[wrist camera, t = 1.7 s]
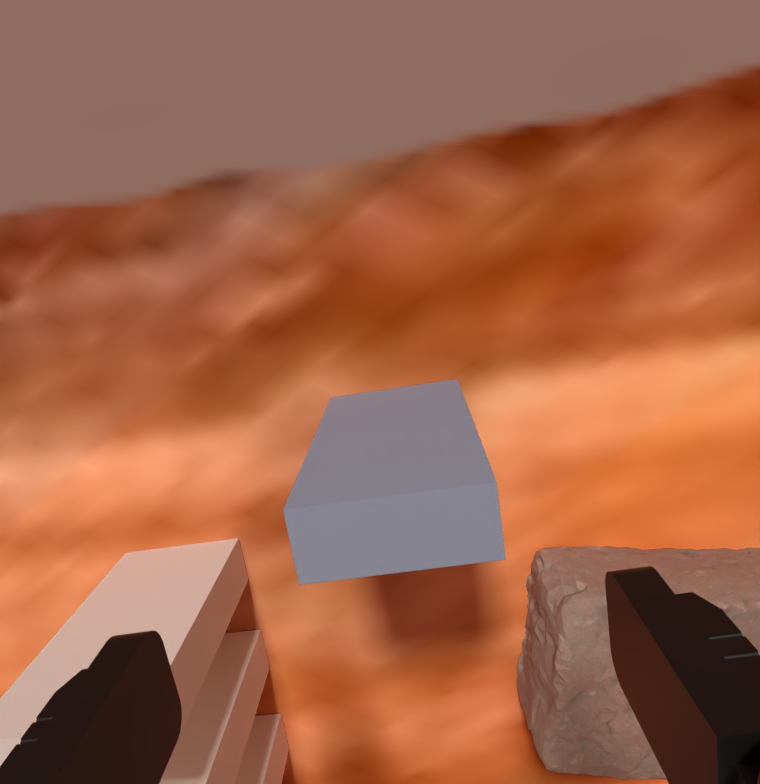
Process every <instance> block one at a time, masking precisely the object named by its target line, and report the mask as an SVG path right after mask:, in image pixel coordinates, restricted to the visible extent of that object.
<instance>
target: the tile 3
mask: <svg viewBox="0 0 760 784" xmlns="http://www.w3.org/2000/svg"><path fill="white" fill-rule="evenodd" d="M269 668H270V667H269V663H268V659H267V654H266V650H265V646H264V642H263V638H262V634H261V629H260V630H252V631H243V632H235V633H226V634H224V636H223V639H222V641H221V643H220V645H219V648H218V650H217V652H216V655H215V657H214V659H213V661H212V664H211V666H210V668H209V670H208V673H207V675H206V677H205V679H204V682H203V684H202V686H201V688H200V691H199V693H198V695H197V698H196V700H195V702H194V704H193V707H192V709H191V711H190V713H189V716H188V718H187V720H186V722H185V725H184V727H183V729H182V731H181V734H180V736H179V738H178V741H177V743H176V745H175V748H174V750H173V752H172V755H171V757H170V759H169V762H168V764H167V766H166V769H165V771H164V773H163V776H162V778H161V780H160V783H159V784H235V780H236V777H237V774H238V771H239V767H240V764H241V761H242V757H243V754H244V751H245V747H246V744H247V741H248V738H249V734H250V731H251V728H252V724H253V721H254V718H255V714H256V711H257V708H258V705H259V701H260V698H261V695H262V691H263V688H264V685H265V681H266V678H267V675H268V671H269Z"/></svg>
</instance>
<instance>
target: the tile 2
mask: <svg viewBox="0 0 760 784" xmlns="http://www.w3.org/2000/svg"><path fill="white" fill-rule="evenodd" d="M247 582H248V576H247V571H246V567H245V563H244V559H243V555H242V551H241V547H240V542H239V538H237V539H229V540H222V541H214V542H206V543H198V544H191V545H183V546H175V547H168V548H160V549H152V550H144V551H137V552H129V553H125V554H124V556H123V557H122V558H121V559H120V560H119V561H118V562H117V564H116V565H115V566H114V567H113V568H112V569H111V571H110V572H109V573H108V574H107V575H106V576H105V578H104V579H103V580H102V581H101V582H100V583H99V585H98V586H97V587H96V588H95V589H94V590H93V592H92V593H91V594H90V595H89V596H88V597H87V598H86V600H85V601H84V602H83V603H82V604H81V605H80V607H79V608H78V609H77V610H76V611H75V612H74V614H73V615H72V616H71V617H70V618H69V619H68V621H67V622H66V623H65V624H64V625H63V626H62V628H61V629H60V630H59V631H58V632H57V633H56V634H55V636H54V637H53V638H52V639H51V640H50V641H49V643H48V644H47V645H46V646H45V647H44V648H43V650H42V651H41V652H40V653H39V654H38V655H37V657H36V658H35V659H34V660H33V661H32V662H31V664H30V665H29V666H28V667H27V668H26V669H25V670H24V672H23V673H22V674H21V675H20V676H19V677H18V679H17V680H16V681H15V682H14V683H13V684H12V686H11V687H10V688H9V689H8V690H7V691H6V693H5V694H4V695H3V696H2V697H1V698H0V766H1V765H2V763H3V762H4V761H5V759H6V758H7V756H8V755H9V754H10V752H11V751H12V750H13V748H14V747H15V746H16V744H20V742H21V738H22V736H23V735H24V734H25V732H26V731H27V729H28V728H29V727H30V725H31V724H32V723H34V722H36V720H37V718H36V717H37V716H38V715H39V713H40V712H41V711H42V709H43V708H44V706H45V705H46V704H47V702H48V701H49V700H50V698H51V697H52V696H53V694H54V693H55V692H56V691H57V690H58V689H59V688H61V687H62V686H63V685H64V684H65V683H67V682H68V681H69V680H70V679H71V678H72V677H74V676H75V675H76V674H77V673H78V672H80V671H81V670H82V669H88V667H89V666H90V664H91V663H92V662H93V660H94V659H95V657H96V656H97V654H98V653H99V652H100V650H101V649H102V647H103V646H104V645H105V643H106V642H107V641H108V639H109V638H111V637H112V636H115V635H123V634H130V633H138V632H145V631H156V632H158V633H159V634H160V636H161V638H162V640H163V643H164V647H165V650H166V653H167V657H168V660H169V664H170V667H171V670H172V674H173V677H174V680H175V684H176V687H177V691H178V694H179V697H180V701H181V709H182V722H181V729H180V734H181V731H182V729H183V727H184V725H185V722H186V720H187V718H188V716H189V713H190V711H191V709H192V707H193V704H194V702H195V700H196V698H197V695H198V693H199V691H200V688H201V686H202V684H203V682H204V679H205V677H206V675H207V673H208V670H209V668H210V666H211V664H212V661H213V659H214V657H215V655H216V652H217V650H218V648H219V645H220V643H221V641H222V639H223V636H224V634H225V632H226V630H227V627H228V625H229V623H230V621H231V618H232V616H233V614H234V612H235V609H236V607H237V605H238V602H239V600H240V598H241V596H242V593H243V591H244V589H245V587H246V584H247ZM180 734H179V736H180ZM177 741H178V740H177Z"/></svg>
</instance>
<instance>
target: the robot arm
mask: <svg viewBox="0 0 760 784" xmlns="http://www.w3.org/2000/svg"><path fill="white" fill-rule="evenodd" d="M605 588H606V600H607V613H608V625H609V637H610V649H611V655H612V660H613V665H614V668H615V672H616V675H617V678H618V681H619V684H620V686H621V688H622V690H623V692H624V694H625V696H626V698H627V700H628V702H629V704H630V706H631V708H632V710H633V712H634V714H635V716H636V718H637V720H638V722H639V724H640V726H641V728H642V730H643V732H644V734H645V736H646V738H647V740H648V742H649V744H650V746H651V748H652V750H653V752H654V754H655V756H656V758H657V760H658V762H659V764H660V766H661V768H662V770H663V772H664V774H665V776H666V778H667V780H668V782H669V784H760V656H759V653H758V650H757V649H756V648H755V647H754V646H753V645H752V643H751V642H750V641H749V640H748V639H747V638H746V637H745V636H742V633H741V631H740V630H739V629H738V627H737V626H736V625H735V624H734V623H733V622H732V620H731V619H730V618H729V617H728V616H727V615H726V614H725V612H724V611H723V610H722V609H720V608H719V607H717V606H715V605H714V604H712V603H710V602H709V601H707V600H705V599H703V598H702V597H700V596H698V595H697V594H695V593H693V592H688V593H680V594H674V592H673V591H672V590H671V588H670V587H669V586H668V585H667V583H666V582H665V581H664V579H663V578H662V577H661V576H660V574H659V573H658V572H657V570H656V569H655V568H654V567H652V566H647V567H639V568H631V569H624V570H616V571H609V572H607V573H606V576H605ZM36 718H37V720H36V722H34V723H32V724H31V725H30V727H29V728H28V729H27V731H26V732H25V734H24V735H23V736H22V738H21V742H20V744H16V746H15V747H14V748H13V750H12V751H11V752H10V754H9V755H8V756H7V758H6V759H5V761H4V762H3V763H2V765H1V766H0V784H159V783H160V780H161V778H162V776H163V773H164V771H165V769H166V766H167V764H168V762H169V759H170V757H171V755H172V752H173V750H174V748H175V745H176V743H177V740H178V738H179V734H180V729H181V722H182V709H181V701H180V697H179V694H178V691H177V687H176V684H175V680H174V677H173V674H172V670H171V667H170V664H169V660H168V657H167V653H166V650H165V647H164V643H163V640H162V638H161V636H160V634H159V633H158V632H156V631H145V632H138V633H130V634H123V635H115V636H112V637H111V638H109V639H108V641H107V642H106V643H105V645H104V646H103V647H102V649H101V650H100V652H99V653H98V654H97V656H96V657H95V659H94V660H93V662H92V663H91V664H90V666H89V667H88V669H82V670H81V671H80V672H78V673H77V674H76V675H75V676H74V677H72V678H71V679H70V680H69V681H68V682H67V683H65V684H64V685H63V686H62V687H61V688H59V689H58V690H57V691H56V692H55V693H54V694H53V696H52V697H51V698H50V700H49V701H48V702H47V704H46V705H45V706H44V708H43V709H42V711H41V712H40V713H39V715H38V716H37V717H36Z"/></svg>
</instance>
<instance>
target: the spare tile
mask: <svg viewBox="0 0 760 784" xmlns="http://www.w3.org/2000/svg"><path fill="white" fill-rule="evenodd" d="M283 512H284V517H285V521H286V526H287V530H288V535H289V540H290V544H291V549H292V553H293V558H294V563H295V567H296V572H297V576H298V581H299V585H303V584H311V583H319V582H328V581H336V580H344V579H352V578H360V577H368V576H376V575H384V574H392V573H401V572H409V571H417V570H425V569H433V568H441V567H449V566H457V565H465V564H474V563H482V562H490V561H498V560H506V557H505V549H504V540H503V532H502V524H501V515H500V507H499V499H498V490H497V482H496V479H495V477H494V474H493V471H492V469H491V466H490V463H489V461H488V458H487V456H486V453H485V450H484V448H483V445H482V443H481V440H480V437H479V435H478V432H477V429H476V427H475V424H474V422H473V419H472V416H471V414H470V411H469V408H468V406H467V403H466V401H465V398H464V395H463V393H462V390H461V387H460V385H459V382H458V380H457V379H455V380H448V381H441V382H434V383H428V384H421V385H414V386H407V387H400V388H393V389H386V390H380V391H373V392H366V393H359V394H352V395H345V396H338V397H332V398H331V399H330V402H329V404H328V406H327V409H326V411H325V413H324V416H323V418H322V420H321V423H320V425H319V427H318V430H317V432H316V434H315V437H314V439H313V441H312V444H311V446H310V448H309V451H308V453H307V455H306V458H305V460H304V462H303V465H302V467H301V469H300V472H299V474H298V476H297V479H296V481H295V484H294V486H293V488H292V491H291V493H290V495H289V498H288V500H287V502H286V505H285V507H284V509H283Z"/></svg>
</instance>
